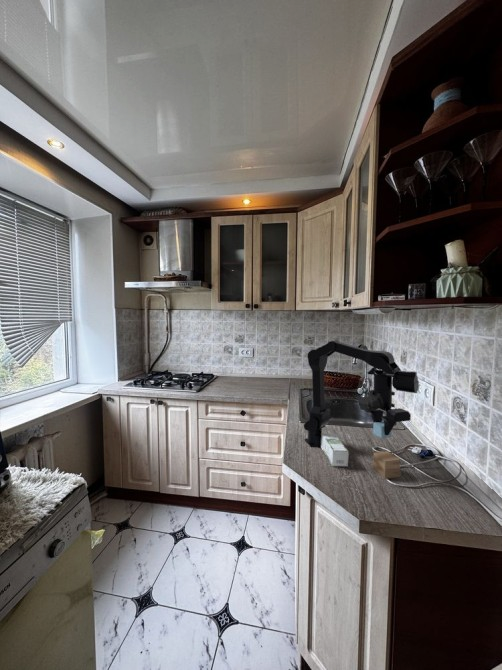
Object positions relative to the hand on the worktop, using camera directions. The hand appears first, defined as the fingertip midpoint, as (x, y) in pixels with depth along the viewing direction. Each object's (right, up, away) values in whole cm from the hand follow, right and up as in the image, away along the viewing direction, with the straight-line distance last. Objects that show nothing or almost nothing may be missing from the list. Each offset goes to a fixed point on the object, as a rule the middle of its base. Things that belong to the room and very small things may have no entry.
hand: (382, 432), depth 91 cm
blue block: (0, -1, 0) cm, 1 cm away
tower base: (0, -13, -2) cm, 13 cm away
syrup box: (-14, -9, +1) cm, 17 cm away
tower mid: (0, -10, -2) cm, 10 cm away
